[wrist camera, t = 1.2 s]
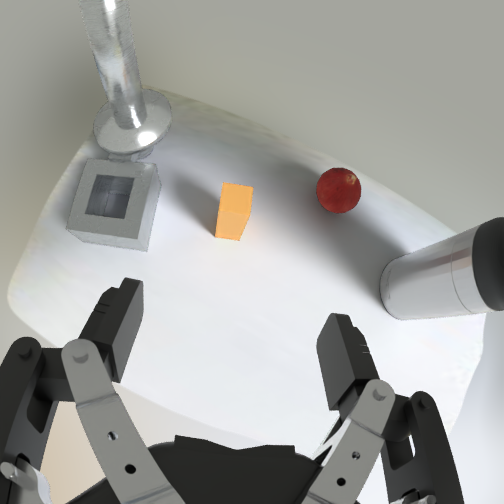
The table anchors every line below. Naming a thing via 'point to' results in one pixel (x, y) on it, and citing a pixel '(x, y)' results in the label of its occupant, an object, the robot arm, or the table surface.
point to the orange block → (233, 211)
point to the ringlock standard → (119, 136)
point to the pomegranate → (338, 190)
